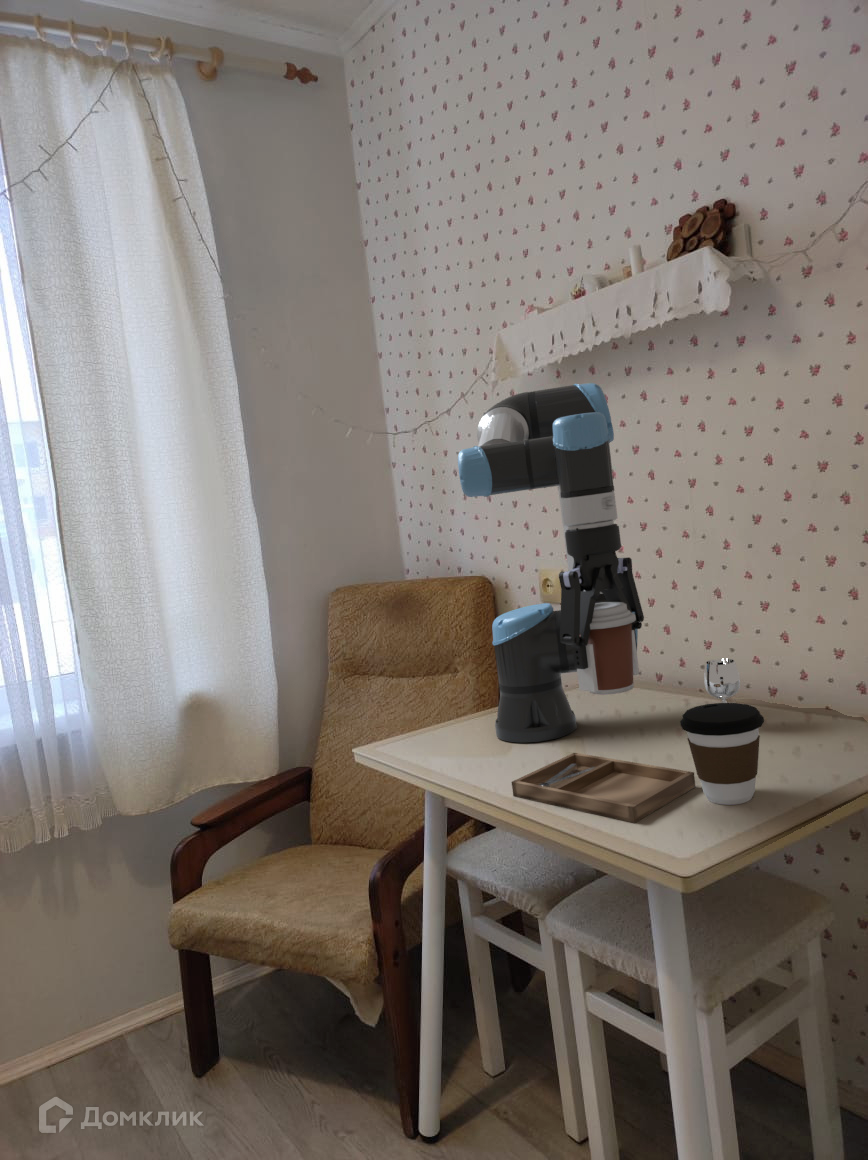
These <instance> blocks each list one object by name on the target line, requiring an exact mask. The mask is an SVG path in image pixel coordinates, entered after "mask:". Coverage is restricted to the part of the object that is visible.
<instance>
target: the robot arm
mask: <svg viewBox="0 0 868 1160" xmlns="http://www.w3.org/2000/svg"><path fill="white" fill-rule="evenodd" d="M476 437H477V442H478V444H477V445H474V446H473V447H470V448H469V447H468V448H463V449H461V450H460V451H459V453H458V454H457V455H458V456H457V465H458V466H457V468H458V475H459V481H460V487H461V491H462V492H463V494H464V495H465V496H466V497H468V498H473V497H474V498H475V497H484V498H485V497H489V496H494V495H495V496H496V495H500V494H508V493H516V492H521V491H522V492H523V491H529V490H537V489H545V488H552V487H557V491H558V497H559V498H558V499H559V506H560V507H559V508H560V513H561V523H562V528H563V531H562V532H563V538H564V547H565V553H566V563H567V569H568V570H567V571H560V572H559V573H558V579H559V584H560V585H559V586H560V589H561V590H560V609H559V610H554V607H553V606H552V605H553V604H551V603H549V602H543V603H538V604H537V603H536V604H532V605H527V606H526V605H525V606H524V607H519V608H516V609H513V610H509V611H506V612H504V613H502V614H500V615H498V616H497V617H496V618H495V619H494V620H493V621H492V625H491V627H492V628H491V630H492V646H494V655H495V661H496V663H495V664H496V669H497V677H498V686H499V694H500V696H499V701H498V706H497V713H496V714H497V717H496V719H495V722H494V727H495V735H496V737H497V738H498V739H499V740H501V741H505V742H510V743H519V744H520V743H523V744H524V743H537V742H546V741H551V740H554V739H555V740H556V739H558V738H563V737H565V736H568V735H570V734H571V733H573V732H575V730H577V720H576V719H577V717H576V714H575V712H574V710H572V708H571V705H570V703H569V700H568V698H567V696H566V693H565V690H564V688H563V683H562V674H568V673H570V674H571V673H576V675H577V682H578V688H579V689H578V690H579V691H581V692H582V691H583V692H589V691H591V692H596V691H598V685H597V676H596V668H595V660H594V651H593V644H588V640H589V634H590V624H591V623H592V618H593V612H594V607H595V603H601V602H624V603H625V604H627V609H628V610H629V611H630V612H631V613H633V614H635V616H636V620H635V621H634V622H632V623H631V624H632V655H633V676H637V675H638V676H639V675H640V671H639V670H640V667H639V660H638V659H639V658H638V637H639V635H638V630H641V628H642V622H644V620H645V615H644V612H643V607H642V604H641V601H640V597H639V593H638V589H637V586H636V581H635V578H634V573H633V561H632V560H633V559H632V558H631V557H618V556H617V552H618V551H620V550H621V547H622V542H621V534H620V525H618V524H617V523H614V521H616V520H617V519H618V510H617V503H616V502H617V501H616V496H615V486H614V478H613V476H614V475H613V467H612V466H613V465H612V458H611V447H610V443H612V442H613V441H614V440H615V439H614V437H615V434H614V427H613V424H612V417H611V412H610V409H609V405H608V402H607V399H606V396H605V393H604V391H603V389H602V388H601V386H600V385H599V384H597V383H593V382H591V383H589V382H588V383H581V384H579V383H574V384H572V385H566V386H560V387H553V388H545V389H540V390H534V391H526V392H521V393H516V394H514V395H511V396H508V397H506V398H504V399H502V400H501V401H499V402H497V403H495V404H494V405H493V406H492V407H490V408H489V409H488V410H487V411H485V412H484V414H483V415H482V416H481V418H480V420H479V422H478V425H477V429H476ZM580 634H581V637H580Z"/></svg>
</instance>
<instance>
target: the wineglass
mask: <svg viewBox="0 0 868 1160" xmlns="http://www.w3.org/2000/svg"><path fill="white" fill-rule="evenodd" d="M703 678H704V680H703V682H704V687H705V690H706V692H707V693H708V695H710V696H711V697H713V698H716V699H720V700H722V701H721V703H728V701H727V699H730V698H732V697H734V696H736V695H737V694H738V692H739V691H740V687H741V679H740V678H741V677H740V673H739V670H738V667H737V665H736V662H735V660H734V659H731V658H716V659H710V660H707V661H706V662H705V666H704V673H703Z"/></svg>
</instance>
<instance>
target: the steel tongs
mask: <svg viewBox="0 0 868 1160" xmlns="http://www.w3.org/2000/svg"><path fill="white" fill-rule="evenodd" d="M593 768H595V767H592V768H589V769H586V770H583V771H580V772H578V773H575V774H573V773H574V772H575V771H577V764H571V765H569V766H568V767H566V768H565V769H564V770H562V771H561V772H559V773H558V774H557V775H555V776H554V777H552V778H551V779H550V780H548V781H547V782H545V783H541V784H539V785H541V786H546V787H550V788H555V787H557V786H559V785H561V784H563V783H565V782H567V781H569V780H571V779H573V778H575V777H577V776H579V775H581V774H583V773H585V772H587V771H589V770H591V769H593ZM571 774H572V775H571Z"/></svg>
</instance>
